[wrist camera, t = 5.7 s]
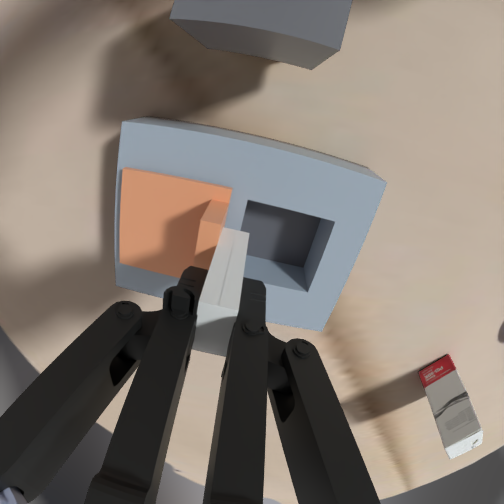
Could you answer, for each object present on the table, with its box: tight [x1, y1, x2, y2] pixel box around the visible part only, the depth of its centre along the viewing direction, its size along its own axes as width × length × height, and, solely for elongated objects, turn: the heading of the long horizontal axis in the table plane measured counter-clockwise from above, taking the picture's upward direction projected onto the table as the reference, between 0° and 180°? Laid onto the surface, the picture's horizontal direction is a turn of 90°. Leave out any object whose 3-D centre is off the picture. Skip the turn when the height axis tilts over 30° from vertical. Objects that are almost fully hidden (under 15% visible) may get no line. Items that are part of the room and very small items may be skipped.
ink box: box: [418, 354, 483, 459], centre depth 26 cm, size 9×5×12 cm, turn 37°
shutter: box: [120, 167, 233, 278], centre depth 16 cm, size 7×7×3 cm
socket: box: [115, 116, 387, 332], centre depth 20 cm, size 12×16×4 cm
